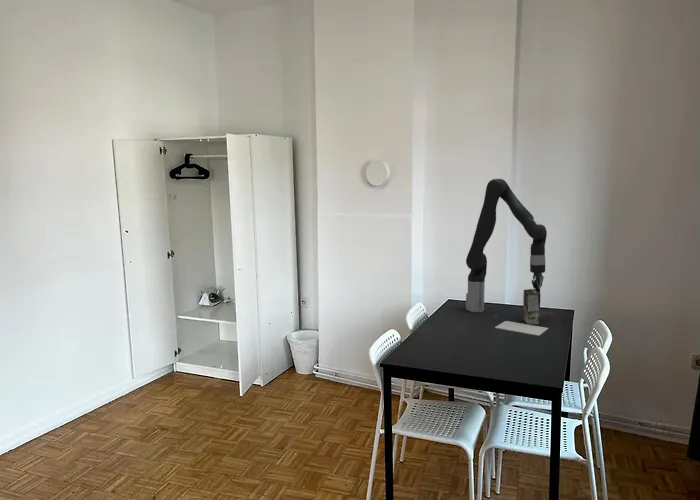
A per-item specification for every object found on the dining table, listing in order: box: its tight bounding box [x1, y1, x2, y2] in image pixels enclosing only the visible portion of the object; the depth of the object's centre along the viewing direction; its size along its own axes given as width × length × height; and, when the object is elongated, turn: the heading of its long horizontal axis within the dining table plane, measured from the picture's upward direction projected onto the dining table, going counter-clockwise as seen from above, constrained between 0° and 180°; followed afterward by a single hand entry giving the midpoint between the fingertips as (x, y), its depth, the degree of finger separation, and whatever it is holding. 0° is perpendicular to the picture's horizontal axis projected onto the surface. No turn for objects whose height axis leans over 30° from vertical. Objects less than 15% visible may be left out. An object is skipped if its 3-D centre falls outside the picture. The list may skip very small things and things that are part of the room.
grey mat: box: [494, 320, 549, 337], centre depth 262 cm, size 22×14×1 cm, turn 52°
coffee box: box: [522, 288, 541, 325], centre depth 271 cm, size 9×6×16 cm
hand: (537, 295), depth 275 cm, fingers closed
